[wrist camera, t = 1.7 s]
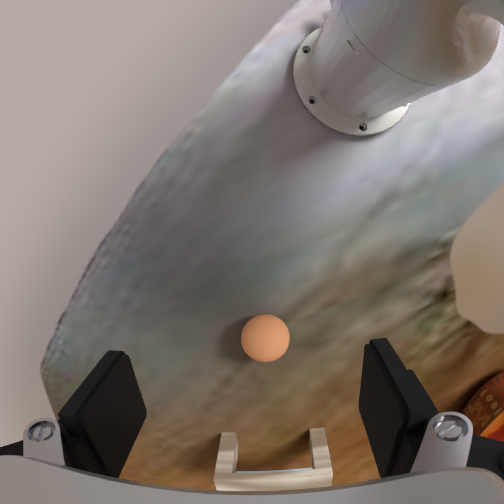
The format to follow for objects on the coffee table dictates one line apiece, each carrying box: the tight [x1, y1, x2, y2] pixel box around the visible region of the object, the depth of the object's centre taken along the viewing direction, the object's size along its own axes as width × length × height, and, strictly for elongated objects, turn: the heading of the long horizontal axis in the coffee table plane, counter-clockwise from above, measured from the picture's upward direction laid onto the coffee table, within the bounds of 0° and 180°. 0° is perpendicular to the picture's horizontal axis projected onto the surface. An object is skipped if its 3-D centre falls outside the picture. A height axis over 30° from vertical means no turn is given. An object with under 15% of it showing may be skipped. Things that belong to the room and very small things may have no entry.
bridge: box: [214, 427, 333, 491], centre depth 35 cm, size 3×14×9 cm, turn 95°
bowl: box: [461, 371, 504, 442], centre depth 33 cm, size 21×21×10 cm
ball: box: [241, 314, 290, 362], centre depth 33 cm, size 5×5×5 cm
